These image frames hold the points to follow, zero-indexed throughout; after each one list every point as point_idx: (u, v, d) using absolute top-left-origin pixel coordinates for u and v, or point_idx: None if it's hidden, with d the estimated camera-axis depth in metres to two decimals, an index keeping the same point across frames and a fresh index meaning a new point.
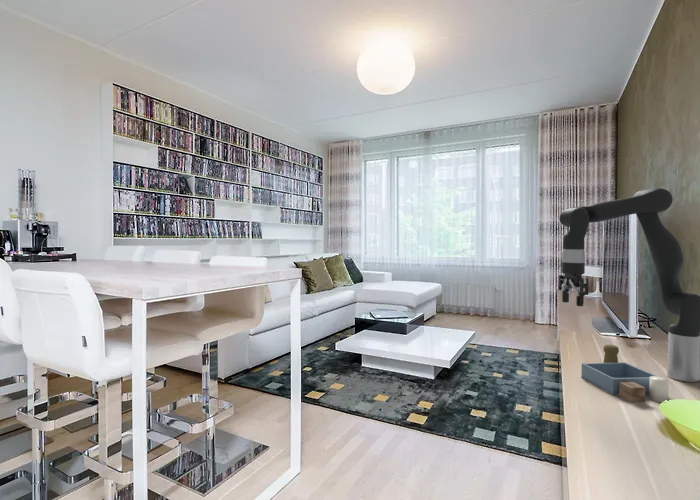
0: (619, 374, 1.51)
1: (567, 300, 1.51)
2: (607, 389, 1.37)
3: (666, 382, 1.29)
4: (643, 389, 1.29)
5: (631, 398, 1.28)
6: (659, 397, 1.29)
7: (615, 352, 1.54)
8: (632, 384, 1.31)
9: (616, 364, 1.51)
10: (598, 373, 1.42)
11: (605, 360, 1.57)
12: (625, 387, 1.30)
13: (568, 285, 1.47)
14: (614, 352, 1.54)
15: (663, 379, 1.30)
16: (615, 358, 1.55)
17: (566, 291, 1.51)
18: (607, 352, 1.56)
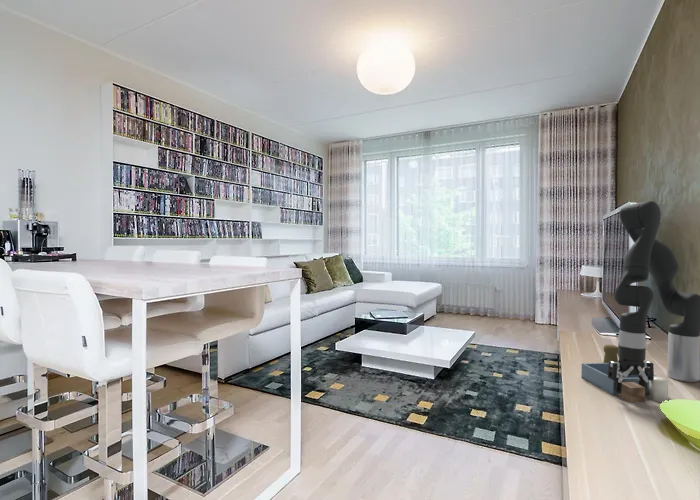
0: None
1: None
2: (607, 389, 1.37)
3: (666, 382, 1.29)
4: (643, 389, 1.29)
5: (631, 398, 1.28)
6: (659, 397, 1.29)
7: (615, 352, 1.54)
8: (632, 384, 1.31)
9: None
10: (598, 373, 1.42)
11: (605, 360, 1.57)
12: (625, 387, 1.30)
13: (630, 372, 1.30)
14: (614, 352, 1.54)
15: (663, 379, 1.30)
16: (615, 358, 1.55)
17: None
18: (607, 352, 1.56)
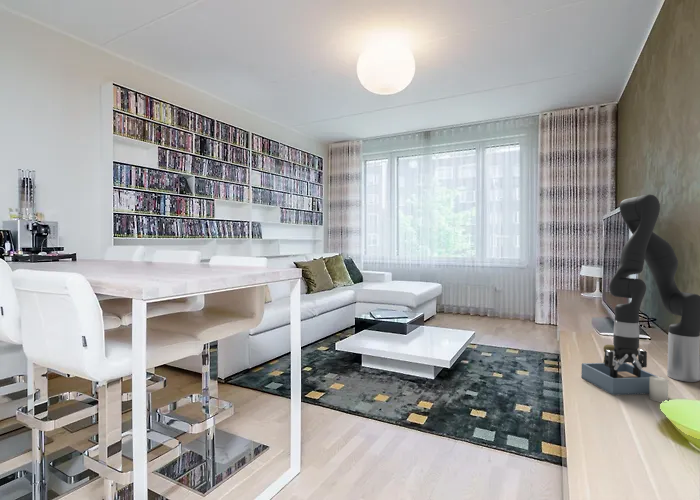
0: None
1: None
2: (607, 389, 1.37)
3: (666, 382, 1.29)
4: None
5: None
6: (659, 397, 1.29)
7: None
8: (625, 373, 1.40)
9: None
10: (598, 373, 1.42)
11: None
12: (619, 376, 1.39)
13: (625, 360, 1.38)
14: None
15: (663, 379, 1.30)
16: None
17: None
18: None
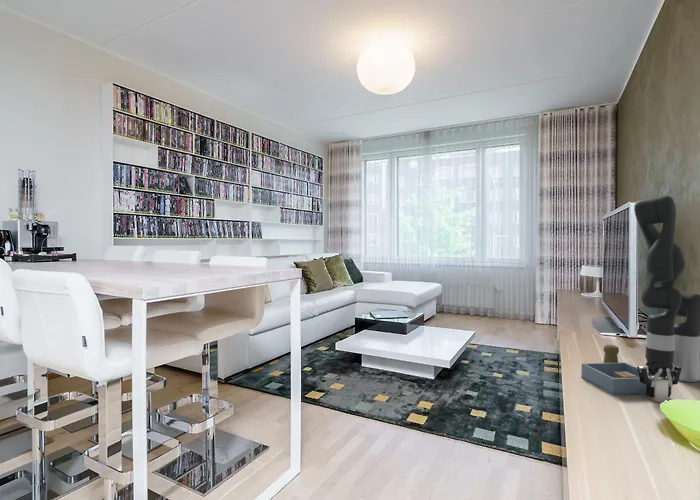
0: None
1: None
2: (607, 389, 1.37)
3: (666, 382, 1.28)
4: None
5: None
6: (659, 397, 1.29)
7: (615, 352, 1.54)
8: (625, 373, 1.40)
9: (616, 364, 1.51)
10: (598, 373, 1.42)
11: (605, 360, 1.57)
12: (619, 376, 1.39)
13: (661, 374, 1.30)
14: (614, 352, 1.54)
15: (663, 379, 1.30)
16: (615, 358, 1.55)
17: None
18: (607, 352, 1.56)
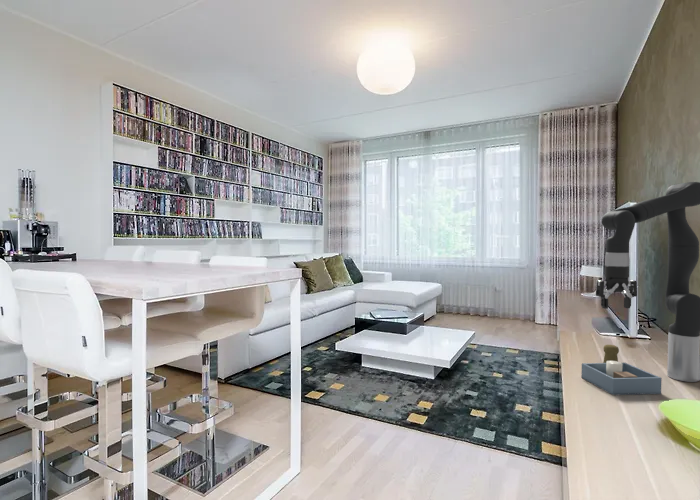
0: None
1: None
2: (607, 389, 1.37)
3: (620, 365, 1.43)
4: None
5: None
6: None
7: (615, 352, 1.54)
8: (625, 373, 1.40)
9: None
10: (598, 373, 1.42)
11: (605, 360, 1.57)
12: (619, 376, 1.39)
13: (616, 290, 1.43)
14: (614, 352, 1.54)
15: (618, 363, 1.45)
16: (615, 358, 1.55)
17: None
18: (607, 352, 1.56)
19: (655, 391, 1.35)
